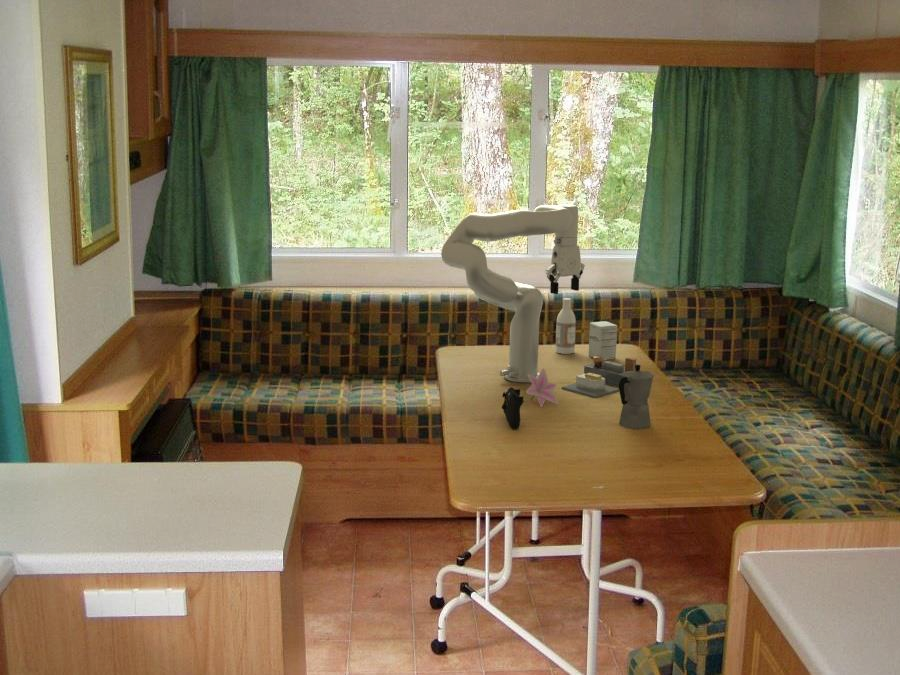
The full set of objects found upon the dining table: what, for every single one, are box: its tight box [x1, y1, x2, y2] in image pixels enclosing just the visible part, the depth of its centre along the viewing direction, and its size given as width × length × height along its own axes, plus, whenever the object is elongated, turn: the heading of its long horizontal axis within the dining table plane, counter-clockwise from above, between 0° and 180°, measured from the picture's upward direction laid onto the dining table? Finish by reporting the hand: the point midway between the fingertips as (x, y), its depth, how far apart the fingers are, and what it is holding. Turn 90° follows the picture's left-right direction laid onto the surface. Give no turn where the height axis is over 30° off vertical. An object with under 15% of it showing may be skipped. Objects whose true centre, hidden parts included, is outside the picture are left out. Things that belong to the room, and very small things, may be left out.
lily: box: [525, 367, 559, 408], centre depth 346 cm, size 12×12×10 cm
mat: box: [561, 382, 620, 399], centre depth 362 cm, size 12×14×1 cm
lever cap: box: [575, 373, 606, 392], centre depth 361 cm, size 5×8×5 cm, turn 44°
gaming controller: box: [501, 387, 525, 430], centre depth 325 cm, size 14×6×10 cm, turn 4°
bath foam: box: [555, 297, 577, 355], centre depth 408 cm, size 7×7×20 cm
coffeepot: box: [618, 364, 654, 430], centre depth 324 cm, size 15×9×18 cm, turn 138°
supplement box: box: [588, 320, 618, 361], centre depth 401 cm, size 7×7×13 cm
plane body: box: [583, 356, 637, 388], centre depth 371 cm, size 8×18×9 cm, turn 44°
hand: (564, 291), depth 378 cm, fingers open, 9 cm apart
